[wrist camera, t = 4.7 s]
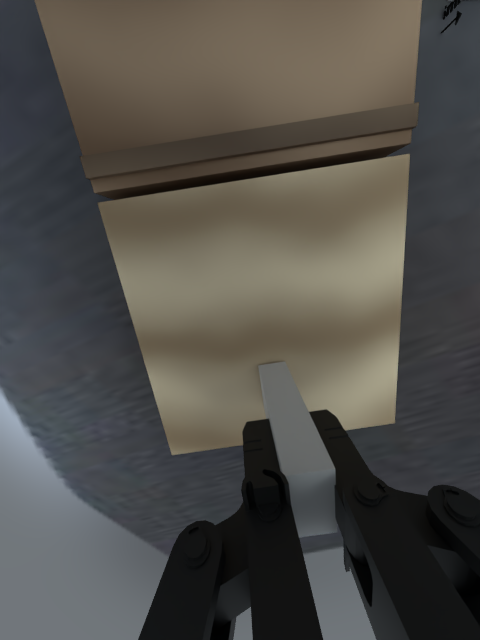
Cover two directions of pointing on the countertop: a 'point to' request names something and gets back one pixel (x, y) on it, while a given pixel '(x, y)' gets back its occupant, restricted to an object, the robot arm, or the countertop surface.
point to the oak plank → (266, 294)
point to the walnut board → (231, 86)
